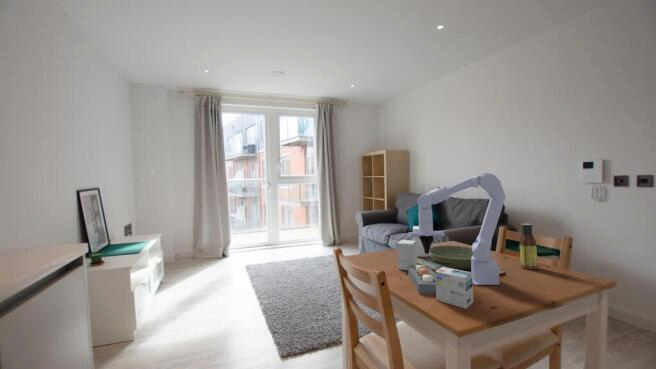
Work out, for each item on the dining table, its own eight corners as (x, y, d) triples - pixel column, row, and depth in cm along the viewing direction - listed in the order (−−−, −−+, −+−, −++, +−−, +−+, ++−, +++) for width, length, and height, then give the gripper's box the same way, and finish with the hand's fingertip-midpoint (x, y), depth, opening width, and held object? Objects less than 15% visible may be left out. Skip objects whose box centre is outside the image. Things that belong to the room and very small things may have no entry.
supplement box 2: (430, 252, 162) (429, 225, 161) (432, 257, 153) (431, 229, 153) (413, 252, 164) (412, 225, 164) (414, 256, 156) (413, 228, 155)
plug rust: (427, 278, 122) (427, 267, 122) (430, 282, 118) (429, 270, 118) (418, 278, 122) (417, 267, 122) (420, 282, 118) (420, 271, 118)
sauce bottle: (539, 268, 131) (539, 224, 130) (533, 271, 127) (533, 226, 126) (523, 264, 136) (523, 222, 135) (517, 267, 133) (516, 224, 132)
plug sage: (423, 274, 128) (423, 264, 128) (426, 278, 124) (425, 267, 124) (415, 275, 128) (414, 264, 128) (417, 278, 124) (416, 267, 124)
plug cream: (431, 285, 116) (431, 274, 116) (434, 289, 112) (433, 277, 112) (421, 285, 116) (421, 274, 116) (424, 289, 112) (423, 278, 112)
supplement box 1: (417, 266, 140) (417, 240, 139) (413, 271, 134) (412, 244, 133) (402, 264, 144) (401, 239, 143) (397, 269, 138) (396, 242, 137)
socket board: (428, 273, 130) (428, 265, 130) (443, 293, 109) (443, 283, 109) (407, 273, 131) (407, 265, 131) (418, 293, 110) (418, 284, 110)
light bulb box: (474, 302, 101) (473, 272, 101) (466, 309, 96) (465, 277, 96) (443, 294, 109) (442, 265, 108) (435, 300, 104) (434, 270, 104)
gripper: (410, 224, 122) (411, 256, 123) (445, 223, 121) (447, 255, 122) (407, 221, 129) (408, 251, 130) (440, 220, 128) (441, 250, 129)
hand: (426, 253), depth 126 cm, fingers closed
